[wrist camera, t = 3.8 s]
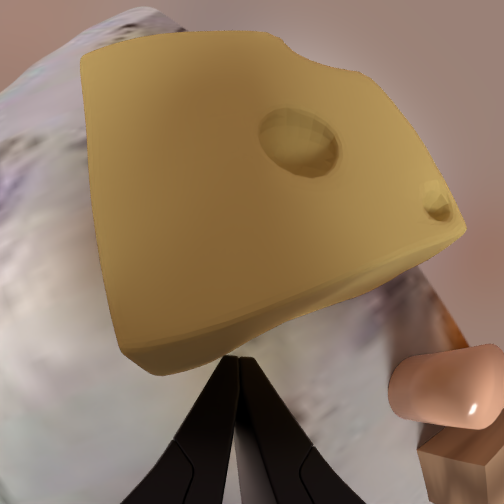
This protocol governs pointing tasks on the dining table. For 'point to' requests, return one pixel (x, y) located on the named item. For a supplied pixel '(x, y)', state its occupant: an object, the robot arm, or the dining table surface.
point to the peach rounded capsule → (450, 387)
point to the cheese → (246, 190)
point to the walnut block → (465, 465)
